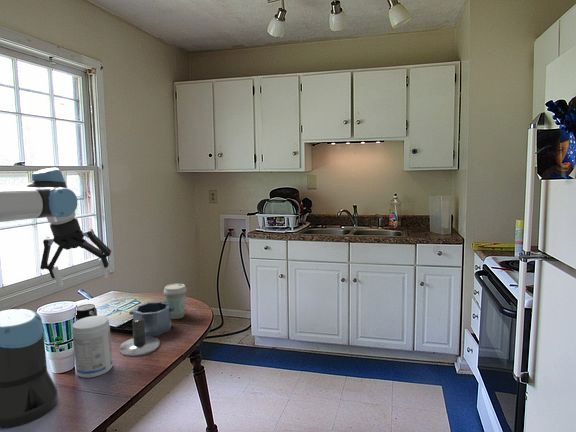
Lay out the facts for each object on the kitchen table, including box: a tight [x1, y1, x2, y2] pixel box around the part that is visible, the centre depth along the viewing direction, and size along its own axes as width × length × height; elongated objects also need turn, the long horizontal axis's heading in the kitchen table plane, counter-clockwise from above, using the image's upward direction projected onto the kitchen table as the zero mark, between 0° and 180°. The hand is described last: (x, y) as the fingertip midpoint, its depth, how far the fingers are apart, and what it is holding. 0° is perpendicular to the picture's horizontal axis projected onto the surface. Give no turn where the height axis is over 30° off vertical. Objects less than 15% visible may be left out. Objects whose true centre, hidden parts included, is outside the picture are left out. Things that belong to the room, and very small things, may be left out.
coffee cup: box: [163, 283, 187, 320], centre depth 155 cm, size 8×9×12 cm
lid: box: [119, 318, 160, 357], centre depth 129 cm, size 12×12×9 cm
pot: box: [129, 301, 174, 337], centre depth 143 cm, size 12×15×8 cm
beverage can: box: [76, 303, 98, 321], centre depth 134 cm, size 7×7×12 cm
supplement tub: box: [71, 315, 114, 379], centre depth 114 cm, size 10×10×15 cm
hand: (84, 281), depth 128 cm, fingers open, 13 cm apart
